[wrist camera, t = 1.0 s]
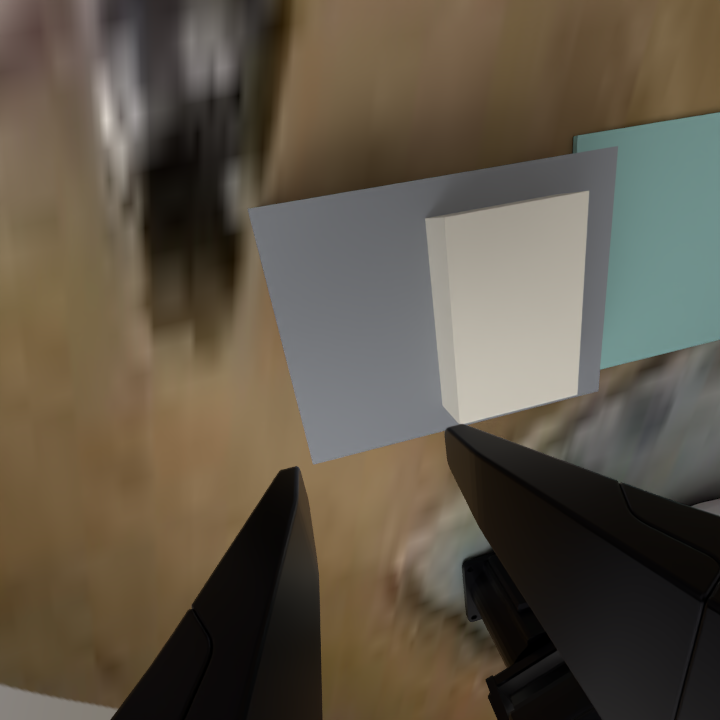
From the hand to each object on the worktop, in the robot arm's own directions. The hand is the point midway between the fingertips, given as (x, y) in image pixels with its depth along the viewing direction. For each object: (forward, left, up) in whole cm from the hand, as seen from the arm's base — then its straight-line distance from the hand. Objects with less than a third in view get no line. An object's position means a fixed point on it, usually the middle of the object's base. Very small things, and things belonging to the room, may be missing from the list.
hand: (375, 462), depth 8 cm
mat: (0, -22, -13) cm, 26 cm away
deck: (0, -6, -13) cm, 14 cm away
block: (0, -8, -9) cm, 12 cm away
